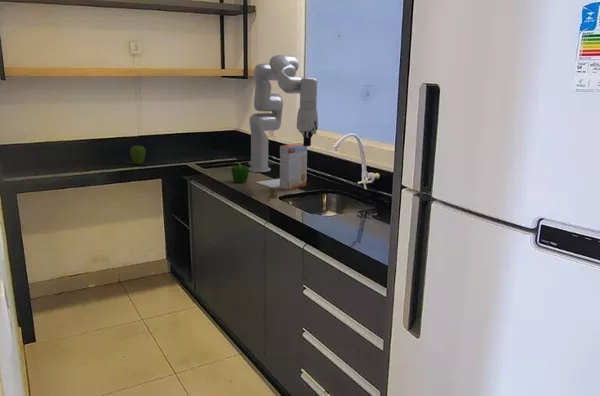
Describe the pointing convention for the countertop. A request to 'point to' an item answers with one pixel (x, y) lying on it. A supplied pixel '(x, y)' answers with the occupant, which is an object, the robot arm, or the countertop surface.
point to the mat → (270, 183)
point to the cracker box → (293, 166)
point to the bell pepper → (240, 173)
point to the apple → (138, 154)
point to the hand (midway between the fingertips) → (307, 145)
